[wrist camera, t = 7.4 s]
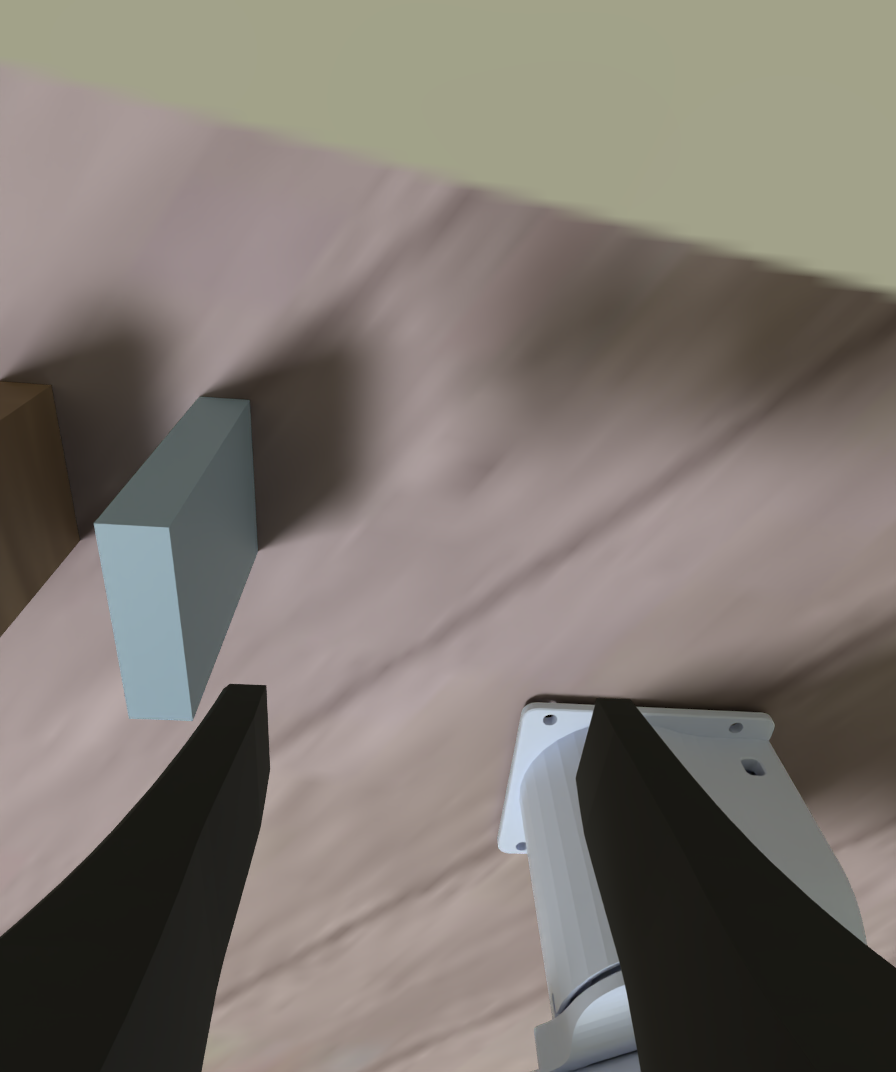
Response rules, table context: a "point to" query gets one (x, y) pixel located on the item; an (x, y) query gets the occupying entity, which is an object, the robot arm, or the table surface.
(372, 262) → the table surface
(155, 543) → the domino
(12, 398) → the domino
